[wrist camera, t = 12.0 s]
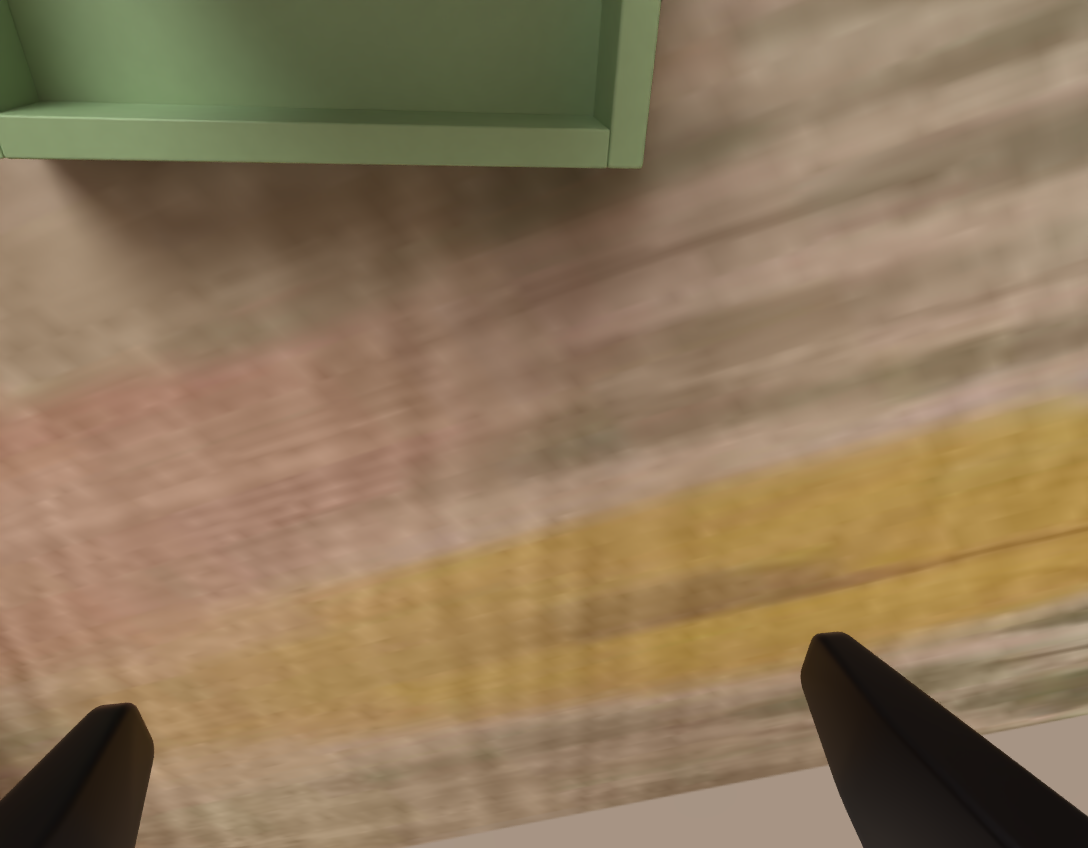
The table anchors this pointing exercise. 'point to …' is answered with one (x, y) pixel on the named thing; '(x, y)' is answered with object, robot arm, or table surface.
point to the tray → (329, 81)
